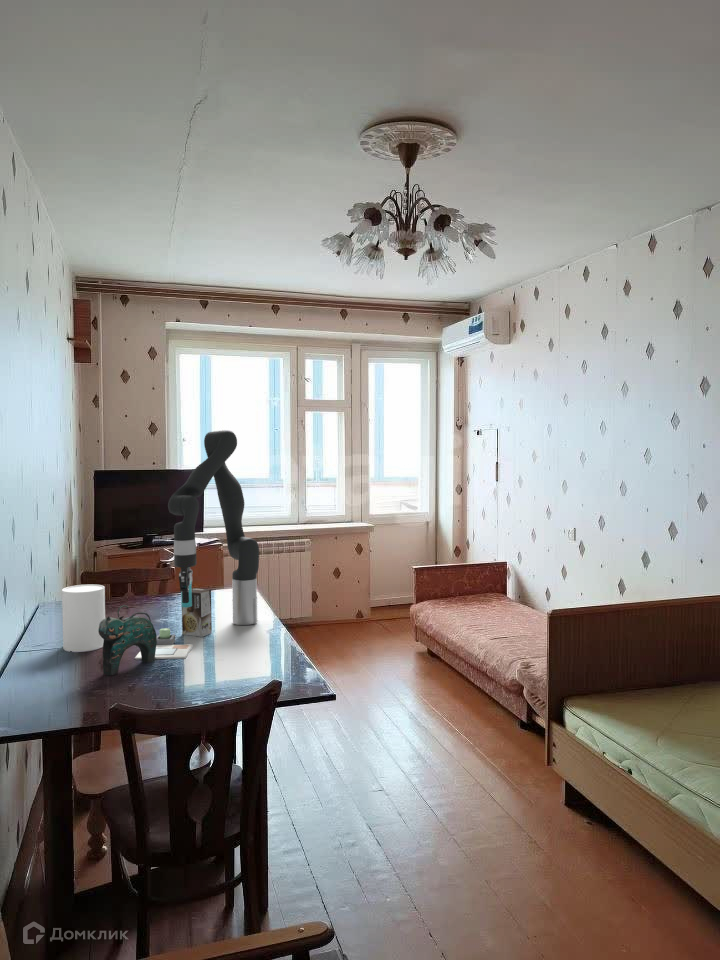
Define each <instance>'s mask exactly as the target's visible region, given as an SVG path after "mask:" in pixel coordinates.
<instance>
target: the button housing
mask: <svg viewBox="0 0 720 960" xmlns="http://www.w3.org/2000/svg"><path fill="white" fill-rule="evenodd" d="M156 637H157V645H175V642H176V634H170V639H160V637H159V634H156Z"/></svg>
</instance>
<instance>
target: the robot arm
mask: <svg viewBox="0 0 720 960" xmlns="http://www.w3.org/2000/svg"><path fill="white" fill-rule="evenodd" d="M203 440H204V441H203V445H204V450H205V453H206V456H207V458H206V459H204V460H203V461H202V462H201V463H199V464H198V465H197V467H195V468H194V469H193V471H191V473H190V475H189V477H188V478H187V480H186V481H185V483H184V484H183V485H181V487H179V488H178V489H177V490H176V491H175V492H174V493H173V494H172V495H171V497H170V498H169V500H168V504H167V507H168V511H169V513H170V514H172V515H174V516H183V519H182V521H180V522H177V523H175V524H174V526H173V539H174V540H173V561H174V563H173V565H174V567H176V568H180V572H178V580H179V581H178V582H179V591H180V593H181V592H182V602H183V603H188V602H189V585H190V577H191V587H192V586H193V569H191V568H192V567H196V566H197V563H198V562H197V543H196V530H195V529H196V525H197V520H198V517H199V516H198V514H199V510H200V503H199V500H198V498H200V497H201V496H203V494H204V492H205V490H206V488H207V487H208V486H209V483H210V482H211V480H212V479H214V482H215V488H216V492H217V497H218V502H219V506H220V510H221V514H222V518H223V524H224V526H225V527H224V528H225V534H226V535H225V536H226V546H227V550H228V553H229V555H230V557H231V558H232V559H234V560H236V561H238V565H237V569H236V570H235V569H234V570H233V572H232V576H231V577H232V579H231V581H232V582H231V583H232V584H231V585H232V586H231V587H232V623H233V624H234V625H236V626H237V625H238V626H248V625H249V626H250V625H257V622H258V595H257V594H258V593H257V592H258V590H257V589H258V586H257V584H258V583H257V582H258V581H257V574H258V571H259V563H260V547H259V543H258V542H257V540H255V539H254V538H252V537H248V536H247V537H246V536H245V532H244V529H243V522H242V521H243V514H244V510H245V498H244V493H243V489H242V488H243V487H242V486H241V484H240V482H239V480H238V479H237V478H236V477H235V476H234V475H233V473H232V472H231V471H230V470H229V467H228V466H227V463H226V461H227V460H228V459H229V458H230V457H231V455H233V454H234V452H235V451H236V449H237V446H238V438H237V435H236V434H235V432H234V431H232V430H227V429H222V430H215V431H209V432H207V433H206V434H205V435H204V439H203ZM187 582H188V583H187ZM183 586H186V588H183Z"/></svg>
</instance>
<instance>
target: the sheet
mask: <svg viewBox="0 0 720 960" xmlns="http://www.w3.org/2000/svg"><path fill="white" fill-rule="evenodd" d="M193 645H194V644H189V643H188V644H173V645H156V652H155V660H173V659H178V660H179V659H186V658H187V657H188V655H189V653H190V651H191V650H192V648H193ZM134 660H136V661H137V660H142V657H141V651H140V650H139V652H138V653H137V655H135V657H134Z"/></svg>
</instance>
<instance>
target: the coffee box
mask: <svg viewBox="0 0 720 960" xmlns="http://www.w3.org/2000/svg"><path fill="white" fill-rule="evenodd" d="M191 588H192V587H191ZM212 620H213V619H212V589H208V588H196V587H193V588H192V606H191V607H181V629H182V631H181V634H182V635H183V636H184V635H185V636H192V637H200V638H203V637H205V636H209V635H211V634H212V633H213V632H212V631H213V628H212V623H213V622H212Z"/></svg>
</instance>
